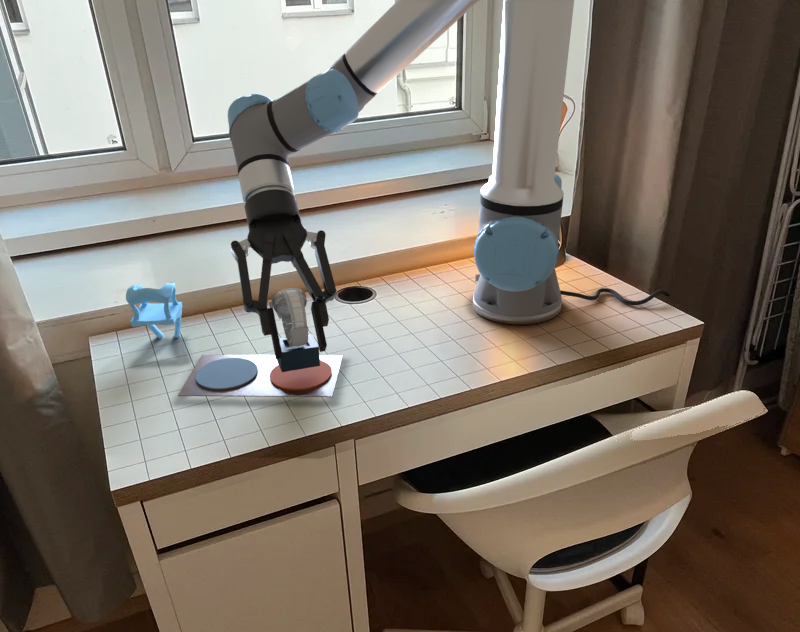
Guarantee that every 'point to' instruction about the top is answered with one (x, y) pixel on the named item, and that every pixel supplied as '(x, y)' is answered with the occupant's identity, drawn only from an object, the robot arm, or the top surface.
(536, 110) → the robot arm
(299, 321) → the watch
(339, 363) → the desk board
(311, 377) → the terracotta pad
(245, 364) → the slate pad
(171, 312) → the chair
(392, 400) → the top surface
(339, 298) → the top surface
